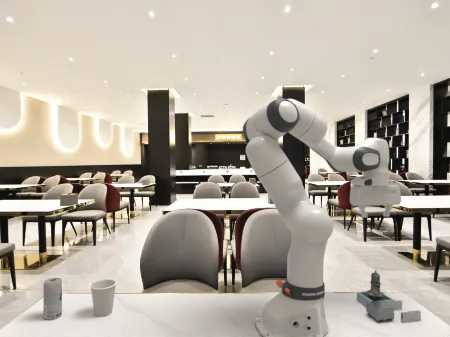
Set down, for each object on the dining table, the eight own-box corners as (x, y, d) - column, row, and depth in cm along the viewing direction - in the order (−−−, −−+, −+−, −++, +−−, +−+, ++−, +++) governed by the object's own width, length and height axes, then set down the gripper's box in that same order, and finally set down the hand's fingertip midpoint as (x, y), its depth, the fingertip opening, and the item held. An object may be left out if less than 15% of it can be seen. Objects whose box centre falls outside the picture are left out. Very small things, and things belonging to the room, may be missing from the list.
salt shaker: (386, 307, 110) (386, 273, 110) (368, 305, 111) (368, 272, 111) (381, 300, 116) (382, 268, 116) (364, 298, 117) (365, 267, 117)
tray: (373, 311, 108) (373, 302, 108) (356, 300, 117) (356, 292, 117) (395, 308, 110) (395, 300, 110) (377, 298, 119) (377, 290, 119)
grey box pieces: (381, 325, 99) (381, 311, 99) (363, 312, 107) (363, 299, 107) (420, 320, 102) (420, 306, 102) (400, 308, 111) (400, 295, 111)
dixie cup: (86, 312, 106) (86, 283, 106) (109, 304, 112) (109, 277, 112) (96, 321, 100) (96, 290, 100) (120, 312, 106) (120, 283, 106)
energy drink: (62, 311, 107) (62, 276, 107) (60, 318, 102) (60, 282, 102) (45, 314, 105) (44, 278, 105) (42, 321, 100) (42, 284, 100)
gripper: (392, 179, 124) (392, 214, 124) (347, 180, 119) (347, 216, 120) (405, 180, 118) (405, 217, 118) (358, 181, 113) (357, 219, 113)
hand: (375, 216), depth 119 cm, fingers open, 8 cm apart
